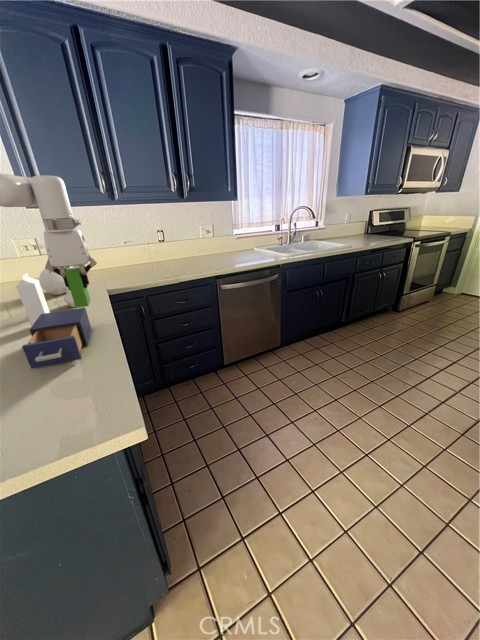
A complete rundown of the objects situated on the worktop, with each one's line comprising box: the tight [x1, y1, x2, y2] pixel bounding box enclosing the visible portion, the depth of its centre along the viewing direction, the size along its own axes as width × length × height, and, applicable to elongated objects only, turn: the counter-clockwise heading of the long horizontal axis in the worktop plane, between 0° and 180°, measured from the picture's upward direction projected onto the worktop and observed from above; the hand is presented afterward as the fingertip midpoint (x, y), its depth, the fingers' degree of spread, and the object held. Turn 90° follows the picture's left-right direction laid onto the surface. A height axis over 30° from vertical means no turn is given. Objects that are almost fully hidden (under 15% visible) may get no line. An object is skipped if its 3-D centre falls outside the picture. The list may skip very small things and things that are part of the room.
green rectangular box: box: [65, 268, 91, 309], centre depth 82 cm, size 4×6×11 cm, turn 22°
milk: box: [15, 272, 51, 327], centre depth 106 cm, size 6×6×22 cm
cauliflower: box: [38, 268, 68, 296], centre depth 151 cm, size 20×18×16 cm
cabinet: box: [29, 307, 93, 348], centre depth 96 cm, size 15×15×10 cm
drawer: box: [21, 324, 83, 370], centre depth 84 cm, size 18×13×8 cm
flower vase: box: [49, 265, 79, 308], centre depth 129 cm, size 13×18×25 cm
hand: (78, 287), depth 82 cm, fingers closed on green rectangular box, 3 cm apart
